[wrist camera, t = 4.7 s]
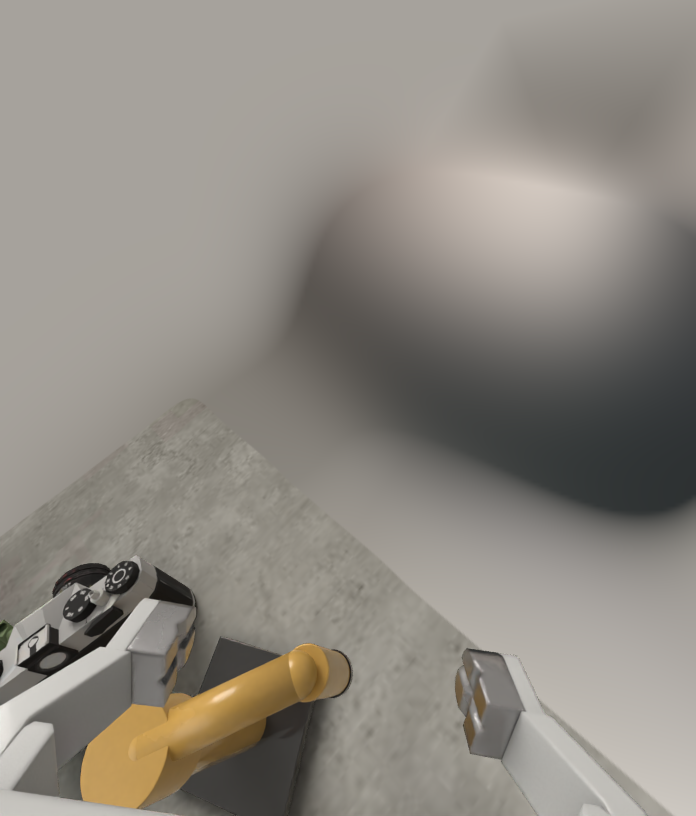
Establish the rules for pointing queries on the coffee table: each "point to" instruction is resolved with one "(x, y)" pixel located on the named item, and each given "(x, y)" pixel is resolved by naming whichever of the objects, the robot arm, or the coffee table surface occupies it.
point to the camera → (80, 619)
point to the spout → (200, 726)
